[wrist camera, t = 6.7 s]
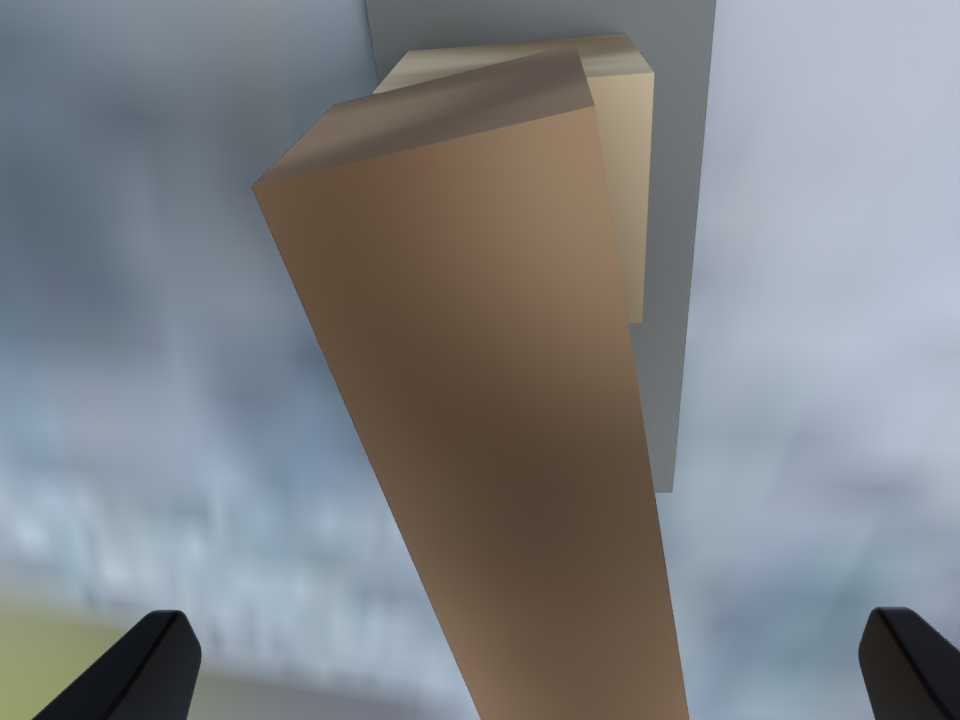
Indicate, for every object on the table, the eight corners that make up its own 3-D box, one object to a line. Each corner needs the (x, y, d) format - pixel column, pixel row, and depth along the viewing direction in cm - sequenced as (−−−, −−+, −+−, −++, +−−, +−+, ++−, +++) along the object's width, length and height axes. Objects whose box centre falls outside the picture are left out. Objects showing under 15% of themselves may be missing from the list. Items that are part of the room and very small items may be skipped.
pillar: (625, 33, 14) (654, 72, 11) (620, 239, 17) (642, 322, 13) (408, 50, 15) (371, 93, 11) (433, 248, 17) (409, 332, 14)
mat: (713, -47, 14) (720, -45, 13) (668, 478, 21) (672, 492, 21) (368, -16, 15) (363, -13, 14) (443, 483, 22) (441, 496, 22)
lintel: (575, 43, 11) (594, 106, 7) (659, 566, 17) (690, 729, 14) (333, 104, 11) (252, 187, 8) (498, 584, 18) (490, 742, 14)
